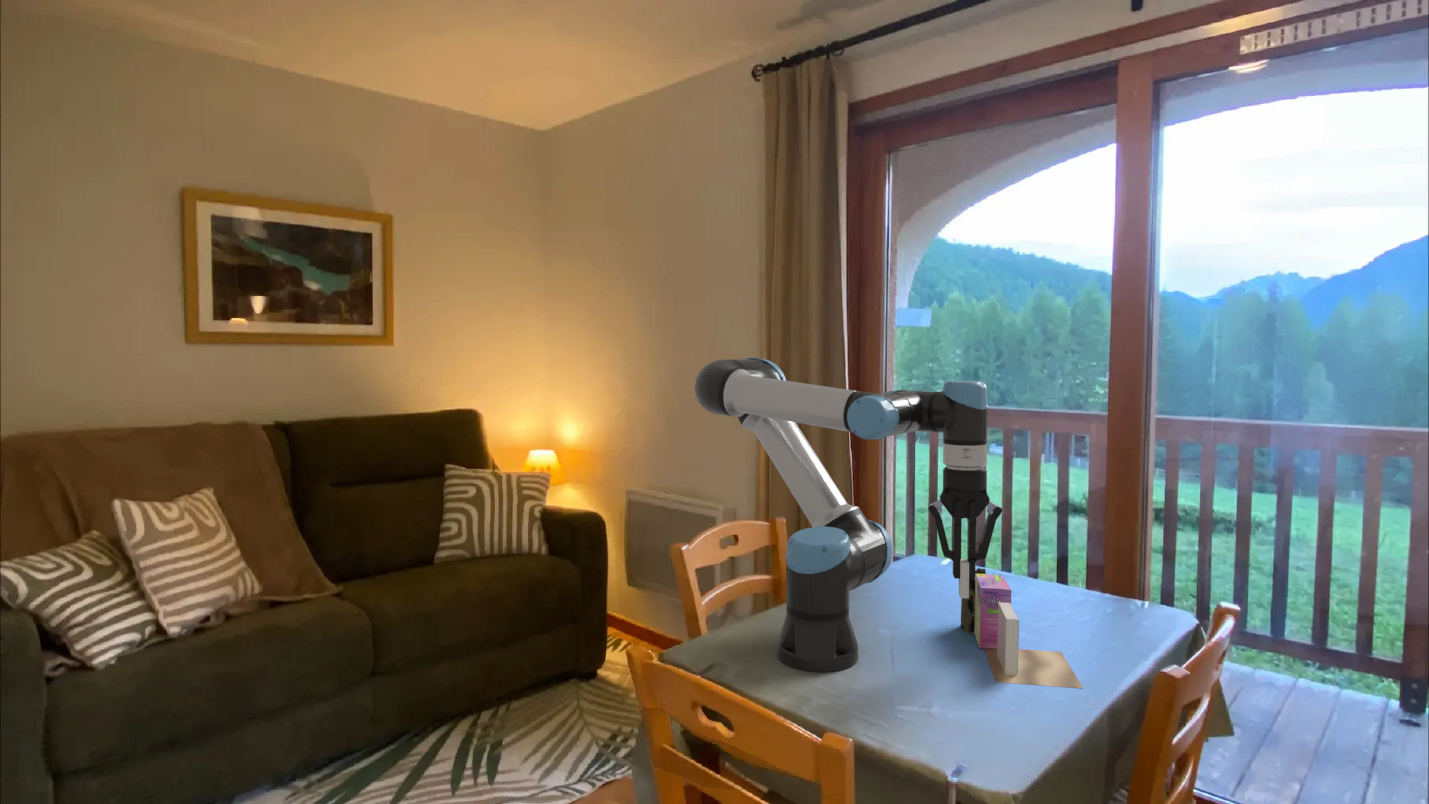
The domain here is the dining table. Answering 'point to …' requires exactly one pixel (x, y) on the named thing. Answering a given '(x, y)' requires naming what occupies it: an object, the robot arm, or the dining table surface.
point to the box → (989, 607)
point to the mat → (1036, 669)
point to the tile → (1008, 638)
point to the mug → (969, 606)
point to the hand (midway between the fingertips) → (963, 595)
